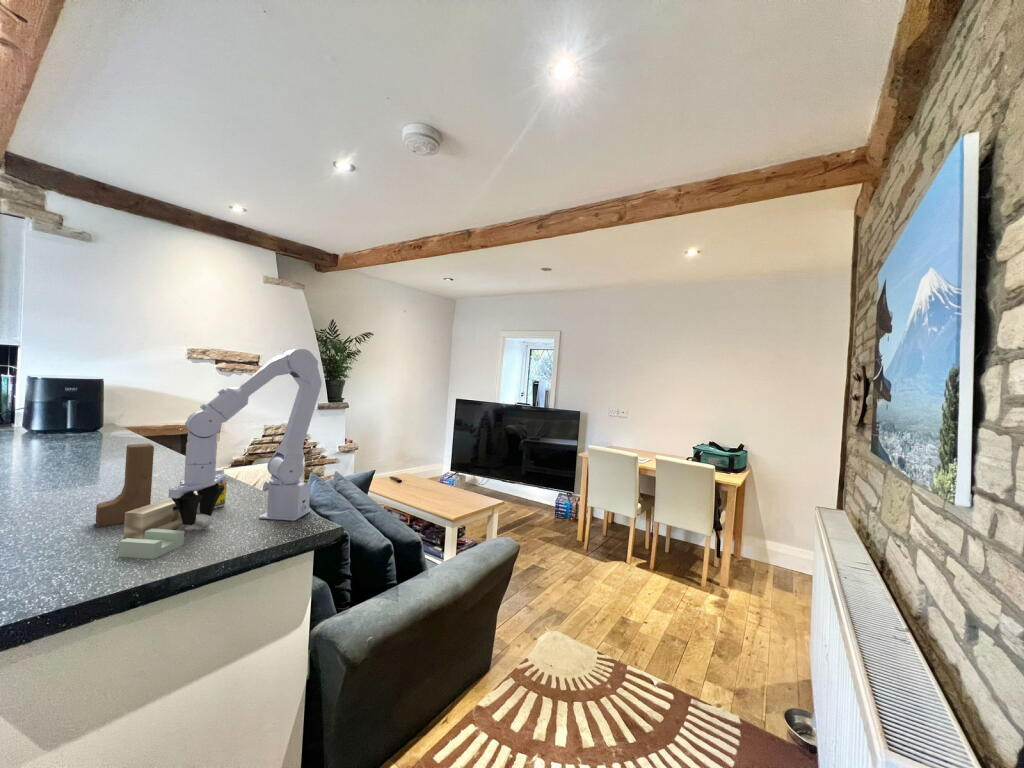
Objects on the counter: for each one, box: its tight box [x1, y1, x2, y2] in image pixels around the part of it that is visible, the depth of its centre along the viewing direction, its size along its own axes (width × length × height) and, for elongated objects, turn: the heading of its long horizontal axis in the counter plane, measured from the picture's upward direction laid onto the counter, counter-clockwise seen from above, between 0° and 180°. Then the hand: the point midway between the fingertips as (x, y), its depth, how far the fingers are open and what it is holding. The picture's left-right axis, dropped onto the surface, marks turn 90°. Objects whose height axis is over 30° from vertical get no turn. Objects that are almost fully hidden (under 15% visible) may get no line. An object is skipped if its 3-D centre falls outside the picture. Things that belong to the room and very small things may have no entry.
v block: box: [117, 529, 185, 560], centre depth 82 cm, size 7×7×3 cm
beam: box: [122, 491, 200, 540], centre depth 94 cm, size 4×18×6 cm, turn 179°
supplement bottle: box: [214, 467, 228, 509], centre depth 110 cm, size 6×6×10 cm
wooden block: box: [95, 443, 155, 528], centre depth 97 cm, size 9×4×18 cm, turn 139°
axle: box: [172, 506, 214, 530], centre depth 94 cm, size 10×3×3 cm, turn 89°
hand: (197, 520), depth 94 cm, fingers open, 4 cm apart
